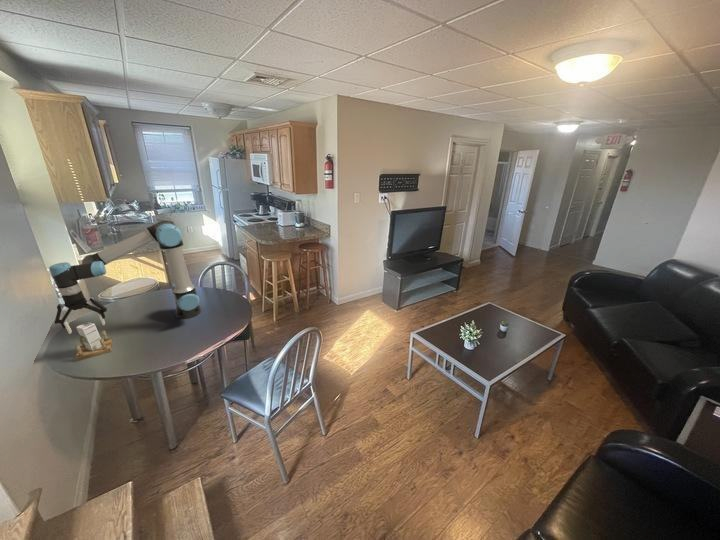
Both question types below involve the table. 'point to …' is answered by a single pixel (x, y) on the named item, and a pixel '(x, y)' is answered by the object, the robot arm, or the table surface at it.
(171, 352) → the table surface
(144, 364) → the table surface
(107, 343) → the peg rack
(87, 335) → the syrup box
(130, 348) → the table surface
